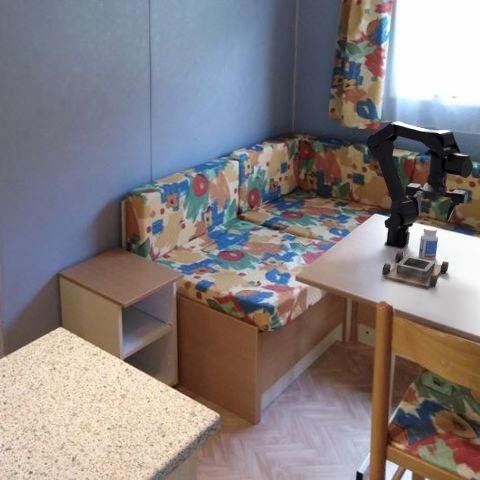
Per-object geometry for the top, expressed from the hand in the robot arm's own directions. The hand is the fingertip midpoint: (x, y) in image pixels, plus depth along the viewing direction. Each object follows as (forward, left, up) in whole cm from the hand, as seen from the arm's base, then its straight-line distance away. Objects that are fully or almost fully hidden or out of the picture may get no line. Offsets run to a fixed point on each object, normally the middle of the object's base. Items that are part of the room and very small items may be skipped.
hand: (432, 218), depth 216 cm
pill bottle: (0, 0, -13) cm, 13 cm away
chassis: (+1, -16, -13) cm, 21 cm away
